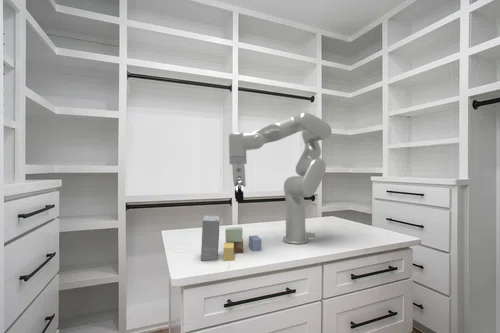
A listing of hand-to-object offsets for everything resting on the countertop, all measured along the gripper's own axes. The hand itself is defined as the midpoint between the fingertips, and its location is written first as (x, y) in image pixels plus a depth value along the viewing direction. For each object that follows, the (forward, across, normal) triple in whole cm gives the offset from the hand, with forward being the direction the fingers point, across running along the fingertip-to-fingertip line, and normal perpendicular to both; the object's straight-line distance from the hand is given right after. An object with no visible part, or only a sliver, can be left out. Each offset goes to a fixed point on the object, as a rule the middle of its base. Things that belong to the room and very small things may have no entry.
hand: (239, 200), depth 111 cm
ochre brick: (+21, -10, +5) cm, 24 cm away
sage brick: (+16, -4, +3) cm, 17 cm away
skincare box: (+21, -9, +12) cm, 26 cm away
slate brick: (+22, 0, -6) cm, 23 cm away
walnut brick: (+22, -4, +3) cm, 22 cm away
